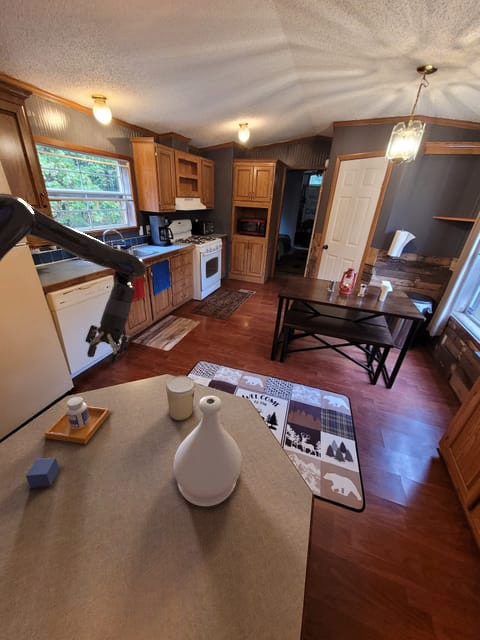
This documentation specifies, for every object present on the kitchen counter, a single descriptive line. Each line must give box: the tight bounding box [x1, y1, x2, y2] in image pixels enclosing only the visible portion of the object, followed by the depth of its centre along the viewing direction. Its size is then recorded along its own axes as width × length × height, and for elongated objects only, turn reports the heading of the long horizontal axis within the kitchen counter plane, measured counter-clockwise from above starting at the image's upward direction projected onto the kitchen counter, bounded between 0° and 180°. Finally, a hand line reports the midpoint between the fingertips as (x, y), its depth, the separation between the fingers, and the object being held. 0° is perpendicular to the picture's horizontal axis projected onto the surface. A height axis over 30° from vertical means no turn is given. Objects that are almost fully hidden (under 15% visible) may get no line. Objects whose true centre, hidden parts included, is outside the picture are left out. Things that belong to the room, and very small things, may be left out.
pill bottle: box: [66, 396, 90, 429], centre depth 77 cm, size 5×5×9 cm
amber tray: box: [44, 405, 111, 445], centre depth 79 cm, size 12×12×2 cm
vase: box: [173, 395, 243, 507], centre depth 62 cm, size 17×17×25 cm
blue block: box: [25, 457, 60, 489], centre depth 63 cm, size 4×4×4 cm
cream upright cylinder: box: [165, 375, 196, 421], centre depth 85 cm, size 9×9×12 cm
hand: (101, 360), depth 83 cm, fingers open, 8 cm apart
